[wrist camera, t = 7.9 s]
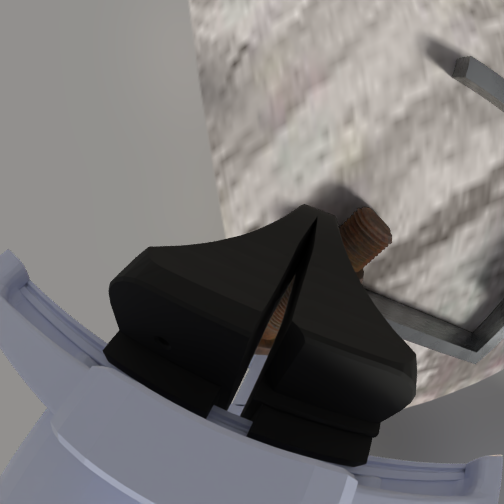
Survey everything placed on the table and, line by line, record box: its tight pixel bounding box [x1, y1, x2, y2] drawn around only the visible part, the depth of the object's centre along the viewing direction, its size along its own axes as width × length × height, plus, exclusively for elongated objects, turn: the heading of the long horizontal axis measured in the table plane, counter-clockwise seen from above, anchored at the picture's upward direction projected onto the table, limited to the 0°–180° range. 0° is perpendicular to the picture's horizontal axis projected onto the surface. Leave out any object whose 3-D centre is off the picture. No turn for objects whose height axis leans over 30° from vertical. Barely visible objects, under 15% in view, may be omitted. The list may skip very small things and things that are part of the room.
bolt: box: [255, 207, 392, 355], centre depth 21 cm, size 6×5×15 cm
